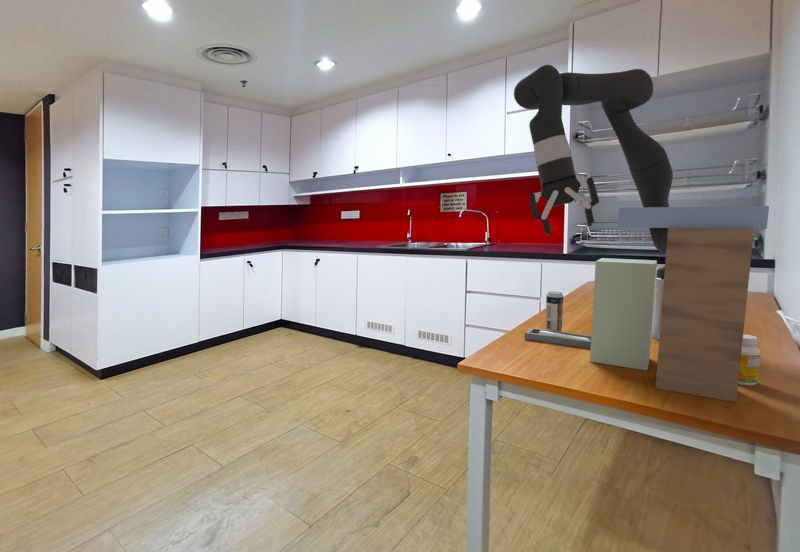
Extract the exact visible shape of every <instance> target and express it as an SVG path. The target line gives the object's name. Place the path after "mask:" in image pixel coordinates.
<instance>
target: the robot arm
mask: <svg viewBox="0 0 800 552" xmlns="http://www.w3.org/2000/svg"><path fill="white" fill-rule="evenodd" d="M653 93H654V83H653V79H652V77H651V75H650V73H648V72H647V71H645V70H644V69H641V68H634V69H628V70H623V71H618V72H605V73H581V72H565V71H564V72H561V73H560V72H559V70H558V69H557V68H556V67H555V66H553V65H551V64H543V65H540V66H539V67H538V68H536V69H534V70H533V71H531V72H530V73H528V74H527V75H526V76H524V77H522V78H520V80H519V81H518V82H517V83H516V85H515V87H514V90H513V98H514V100H515V102H516V103H517V105H518V106H519V107H521V108H523V109H526V110H538V111H537V112H536V114H535V115H534V116H533V117H532V118H531V119H530V121H529V125H528V128H529V133H530V136H531V140H532V144H533V151H534V152H533V153H534V159H535V164H536V168H537V174H538V176H539V181H540V186H541V191H539V192H531V193H529V195H528V197H529V203H530V210H531V216H532V219H533V220H540V221H541V222H542V227H543V231H544V232H543V233H545V234H546V235H548V237H550V236H553V234H552V230H551V229H552V228H551V224H550V220H549V219H548V216H549V214H550V211H551V210H552V208H553V207H558V206H559V207H560V206H561V205H565V204H566V205H567V204H571V203H572V202H575V203H577V204H578V205H580V206H581V207H582V208H584V210H583V212H584V217H585V220H586V225H587V227H591V226H592V225H593V223H594V222H595V219H594V214H593V207H595V206H596V205H598V204H599V203H600V199H599V196H598V192H597V188H596V184H595V182H594V178H593V177H588V178H586V179H583V180H580V181H579V180H578V179H577V175H576V170H575V165H574V161H573V156H572V151H571V148H570V144H569V142H568V139H567V136H566V131H565V127H564V123H563V119H562V117H563V106H583V105H589V104H594V103H598V102H600V103H601V106H602V107H601V108H602V110H603V112H604V114H605V115H606V118H607V121H609V124H610V126H611V128H612V130H613V132H614V134H615V136H616V138H617V141H618V142H619V145H620V147H621V150H622V152H623V155H624V158H625V160H626V163H627V166H628V169H629V172H630V175H631V177H632V180H633V183H634V185H635V187H636V189H637V192H638V195H639V196H638V197H639V198H640V201H641V202H640V203H641V204H642V207H670V204H669V198H670V197H669V196H670V191H671V188H672V185H673V184H672V183H673V180H674V179H673V178H674V172H673V167H672V165H671V163H670V159H669V157H668V153H667V152H666V150H665V148H664V146H662V145H661V144H660V143H659V142H658V141H656V140H655V138H653V137H651V136H650V135H648V134H647V133H645V132H644V131H643V130H642V129H641V128H640V126H638V125H637V123H636V122H635V119H634V118H633V116H632V114H631V112H630V111H631V110H634V109H636V108H637V109H638V108H640V107H641V106H643V105H645V104H646V103H647V102H649V101H650V100H651V98H652V96H653ZM581 187H583V188H584V189H585V190H588V195H589V198H590V201H587V200H586V199H584V198H583V197H582V196H581V195H579V190H580V188H581ZM540 197H542V198H543V199H544V200H545V201H546V202H547V203H546V205H545V207H544V209H543V212H542V213H538V207H537V203H538V202H539V200H540ZM648 229H649V235H650V237H651V238H650V239H651V241H652V243H653V246H654V248H656V250H658V251H659V252H661V253H663V254H666V249H667V236H668V228H648ZM664 274H665V264H664V265H662V266H659V267H658V268H657V269H656V282H655V295H654V308H653V321H652V334H651V338H653V339H656V340H659V337H660V325H661V312H662V299H663V287H664Z"/></svg>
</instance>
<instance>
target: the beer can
mask: <svg viewBox="0 0 800 552" xmlns="http://www.w3.org/2000/svg"><path fill="white" fill-rule="evenodd" d="M545 301H546V302H545V322H544V324H545V325H544V329H545V330H553V331H561V332H563V310H564V309H563V308H564V307H563V306H564V295H563V293H562V292H559V291H548V292H547V294H546V300H545Z"/></svg>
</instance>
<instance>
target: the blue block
mask: <svg viewBox="0 0 800 552" xmlns="http://www.w3.org/2000/svg"><path fill="white" fill-rule="evenodd" d="M769 210H770V206H769V205H764V206H763V205H760V206H759V205H757V206H756V205H755V206H754V205H751V206H749V205H747V206H745V205H744V206H669V207H643V206H642V207H618V211H617V228H635V229H636V228H638V229H639V228H642V229H644V228H645V229H647V228H648V229H649V228H729V229H754V230H757V229H759V230H760V229H761V230H767V228H768V219H769Z"/></svg>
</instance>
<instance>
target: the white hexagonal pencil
mask: <svg viewBox="0 0 800 552" xmlns="http://www.w3.org/2000/svg"><path fill="white" fill-rule="evenodd" d="M539 334H544V335H551V336H558V337H566V338H573V339H581V340H588V341H590V340H589V339H588V338H583V337H577V336H571V335H565V334H559V333H553V332H547V331H539Z"/></svg>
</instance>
